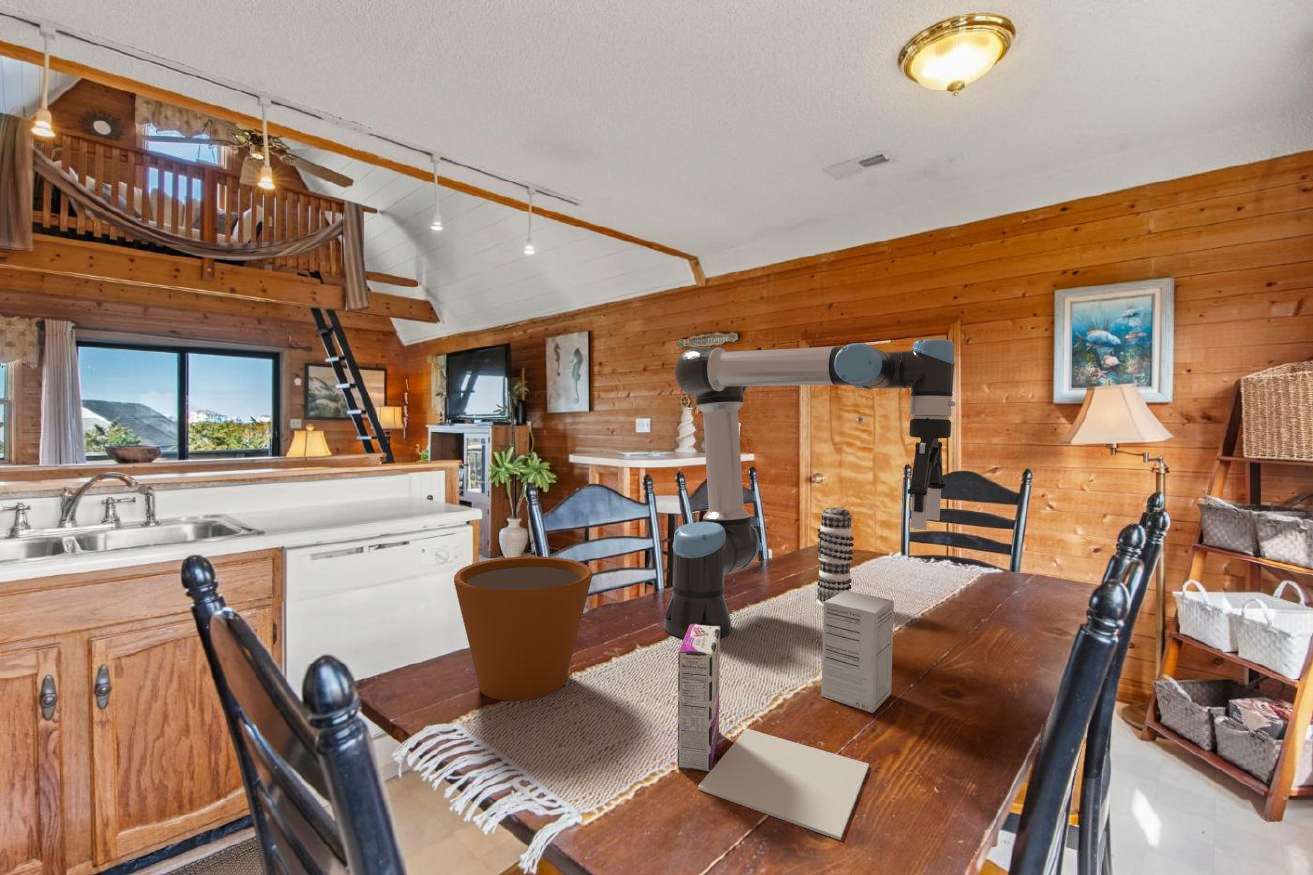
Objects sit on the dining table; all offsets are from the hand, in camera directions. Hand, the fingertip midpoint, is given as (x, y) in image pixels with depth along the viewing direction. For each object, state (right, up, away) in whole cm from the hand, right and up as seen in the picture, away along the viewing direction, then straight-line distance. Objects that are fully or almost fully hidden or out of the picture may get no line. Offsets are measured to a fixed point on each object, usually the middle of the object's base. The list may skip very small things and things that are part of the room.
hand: (925, 524), depth 120 cm
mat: (-37, -28, -40) cm, 61 cm away
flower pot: (-78, -27, -13) cm, 83 cm away
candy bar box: (-48, -28, -34) cm, 65 cm away
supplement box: (-19, -28, -16) cm, 37 cm away
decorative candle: (-8, -26, +36) cm, 46 cm away
